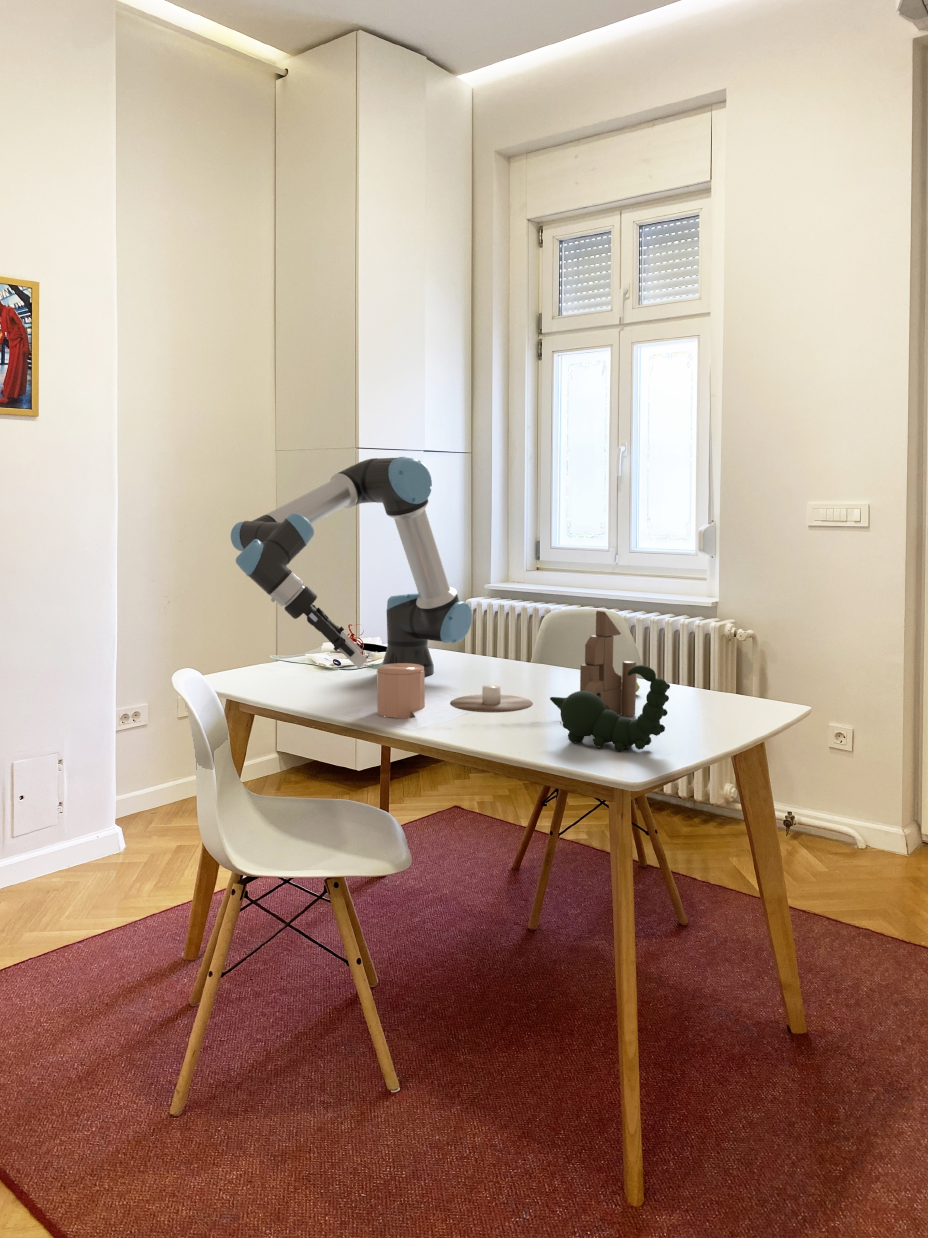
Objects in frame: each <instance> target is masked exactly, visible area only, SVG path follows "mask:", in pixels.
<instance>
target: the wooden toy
mask: <svg viewBox="0 0 928 1238" xmlns="http://www.w3.org/2000/svg"><path fill="white" fill-rule="evenodd" d="M621 634H622V633H621V631H620V630H619V629H618V628H617V626H616V624H614V623H613V621H612V619H611V618H610V617H609V615H608V614H607V613H606V611H605V610H604V611H602V610H596V612H595V635H590V636H589V638H588V640H587V641H586V643H585V645H584V664H581V665H580V667H579V669H580V671H579V672H580V673H579V674H580V677H579V682H580V683H579V691H589V692H592V693H594V694H595V695H597V696H598V697H600V698H601V700H602V701H603V702H604V704H605V707H606V709H609V710H612V711H614V712H616V713H617V714H618V715H619V716H620V715H621V716H622V717H626V718H631V717H635V716H636V699H637V698H636V696H637V695H636V693H637V692H636V678H637V674H632V675H630V676H629V675H628V671H629V670H630V669H631V668H633V667H634V666H637V662H636V661H634V660H624V661H622V663H621V664H622V665H621V666H622V670H621V671H622V672H621V675H620V674H618V673H617V672H616V671H615V668H614V636H620V635H621Z"/></svg>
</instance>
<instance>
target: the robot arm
mask: <svg viewBox="0 0 928 1238" xmlns="http://www.w3.org/2000/svg"><path fill="white" fill-rule="evenodd" d="M432 481H433V480H432V475H431V473H430V471H429V469H428V467H427V466H426V465H425V464H424V463H423V462H422V461H421V460H419V459H418V458H417V459H416V458H413V457H407V456H406V457H405V456H398V457H385V458H384V457H383V458H382V457H381V458H380V457H379V458H377V457H375V458H367V459H365V460H362V461H359V462H357V463H355V464H352V465H351V466H349V467H346V468H345V469H343V470H341V471H339V472H337V473H335V474H333V475H332V476H331V477H330V480H329V481H327V482H326V483H324V484H322V485H320V486H318V487H316V488H314V489H312V490H310V491H309V492H307V493H305V494H302V495H301V496H299V497H297V498H295V499H293V500H291V501H289V502H287V503H285V504H283V505H281V506H279V507H277V508H275V509H274V510H271V511H270V512H268V513H265V514H264V515H262V516H260V517H256V519H253V520H251V521H250V520H244V521H239V522H237V523H235V524H234V526H233V527H232V528H231V530H230V541H231V545H232V546H233V547H234V549H236V550H237V551H238V552H240V553H239V554H238V555H237V556H236V558H235V564H236V565H237V566H238V567H239V568H240V569H241V571H243V573H244V574H245V575H246V577H249V578H250V579H251V580H252V581H253V582H254V583H255V584H256V585H258V586H259V587H260V588H261V590H263V591H264V592H265V593H266V594H267V595H269V597H270V601H271V603H274V602H276V603H277V605H279V606H280V607H284V611H285V612H287V614H288V615H289V616H290V617H291V618H293V619H295V620H296V619H297V620H298V618H300V617H301V616H302V615H303V614H304V615H305V616H306V621H307V623H308V624H309V625H311V626H312V627H314V629H315V630H316V631H318V632H320V633H321V634H322V635H323V636H324V637H325V638H326V639H327V640H328V642H330V643H331V644H332V645H333V650H334V651H335V652H337V651H338V650H339V652H340V653H341V654H343V655H344V656H345V657H346V658H347V659H348V660H349V661H350V662H351V663H352V664H353V665H354V666H356V668H358V669H360V668H361V667H362V666H363V665H364V664H366V662H367V661H368V659H367V658H366V657H365V656H364V655H363V654H362V652H363V651H364V650H363V649H362V648H361V647H360V646H359V645H358V644H357V643H356V642H355V641H353V640H352V638H350V636H348V635H347V634H346V632H344V630H345V629H344V627H343V626H340V627H339V626H338V625H337V624H335V622H333V621H332V620H331V619H330V618H329V616H328V615H327V614H325V612H324V611H323V610H322V609H321V608H320V607H319V606H318V607H316V605H315V604H314V602H315V601H316V600H317V598H318V596H317V594H316V593H315V592H314V591H313V590H312V589H311V588H310V587H309V586H306V585H305V582H304V581H303V580H302V579H301V578H300V577H299V576H298V575H297V574H295V573H294V572H293V571H292V570H291V569H290V568H289V567H288V565H289V564H290V562H291V561H292V560H294V558H296V557H297V556H298V554H299V553H301V551H302V550H303V549H304V548H305V547H307V545H308V544H309V542H310V541H311V540H312V539H313V536H314V535H315V530H314V527H313V525H314V524H316V523H317V522H319V521H321V520H322V519H325V518H326V517H329V516H330V515H332V514H334V513H336V512H338V511H339V510H341V509H343V508H344V509H352V508H353V507H355V506H357V505H361V504H366V503H369V504H371V503H377V504H380V503H381V504H383V509H384V511H385V513H386V516H388V517H390V518H392V519H394V523H395V525H396V529H397V531H398V535H399V537H400V541H401V545H402V547H403V551H404V553H405V557H406V559H407V562H408V566H409V568H410V572H411V574H412V577H413V581H414V584H415V587H416V590H417V592H416V593H415V592H414V593H407V594H398V595H396V594H395V595H391V596H390V597H389V598H387V602H386V603H387V604H386V612H385V613H386V636H387V637H386V638H387V639H386V641H387V645H386V646H387V647H386V650H385V654H384V657H383V660H382V662H381V665H385V664H393V663H411V664H419V665H422V666H424V671H425V677H427V676H431V675H432V674H434V673H435V666H434V662H433V659H432V656H431V652H430V649H429V646H428V641H434V642H443V644H444V643H445V644H448V643H451V644H452V643H459V642H461V641H463V640H464V639H465V638H466V636H467V635H468V633H469V631H470V629H471V625H472V621H473V613H472V609H471V606H470V605H469V604H468V603H467V602H465V601H463V600H462V601H461V600H460V599H459V596H458V592H457V590H456V588H454V587H452V586H449V583H448V579H447V576H446V573H445V569H444V567H443V566H444V565H443V563H442V560H441V557H440V553H439V549H438V546H437V544H436V540H435V537H434V533H433V530H432V527H431V525H430V521H429V517H428V515H427V511H426V507H427V506H428V504H429V497H430V495H431V494H432V486H433V482H432ZM304 585H305V586H304Z"/></svg>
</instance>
